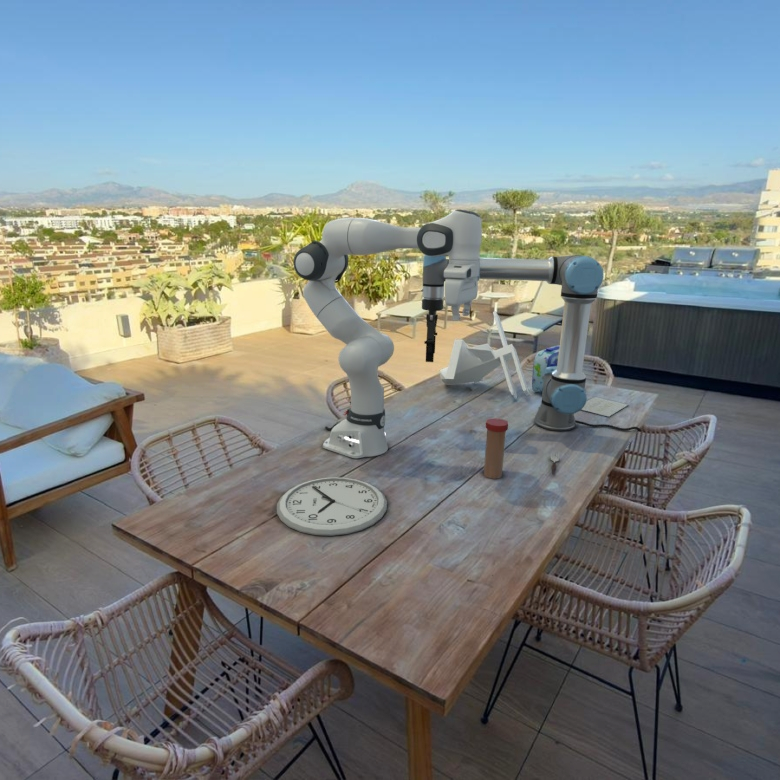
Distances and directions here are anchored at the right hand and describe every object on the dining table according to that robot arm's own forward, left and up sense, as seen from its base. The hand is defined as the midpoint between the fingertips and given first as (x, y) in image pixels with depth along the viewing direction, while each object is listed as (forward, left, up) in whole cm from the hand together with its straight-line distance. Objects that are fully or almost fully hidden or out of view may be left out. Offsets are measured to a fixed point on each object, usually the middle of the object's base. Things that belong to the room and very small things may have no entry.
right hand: (430, 357), depth 190 cm
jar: (-22, +35, -28) cm, 50 cm away
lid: (-22, +35, -11) cm, 43 cm away
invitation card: (-73, -38, -28) cm, 87 cm away
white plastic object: (-22, -50, -28) cm, 61 cm away
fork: (-42, +26, -28) cm, 57 cm away
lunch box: (-56, -59, -28) cm, 86 cm away
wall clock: (+23, +61, -28) cm, 71 cm away
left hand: (-10, +31, +20) cm, 38 cm away
